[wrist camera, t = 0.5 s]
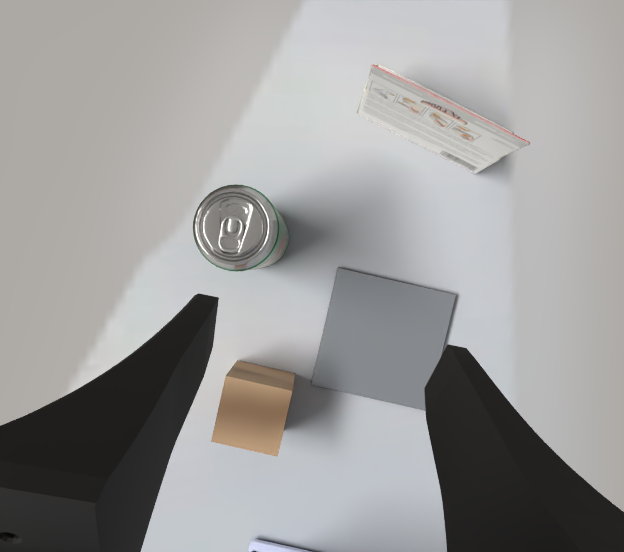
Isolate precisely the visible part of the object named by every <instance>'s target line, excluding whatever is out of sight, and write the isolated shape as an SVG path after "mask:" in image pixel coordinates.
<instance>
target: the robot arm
mask: <svg viewBox="0 0 624 552" xmlns="http://www.w3.org/2000/svg"><path fill="white" fill-rule="evenodd" d="M218 299H219V298H218V297H213V296H208V295H203V294H197V295H195V296H194V297H193V298H192V299H191V300H190V301H189V303H188V304H187V305H186V306H185V307H184V308H183V309H182V310H181V311H180V312H179V313H178V314H177V315H176V316H175V317H174V318H173V319H172V320H171V321H170V322H169V323H167V324H166V325H165V326H164V327H163V328H162V329H161V330H160V331H159V332H158V333H156V334H155V335H154V336H153V337H152V338H151V339H149V340H148V341H147V342H146V343H144V344H143V345H142V346H141V347H139V348H138V349H137V350H136V351H134V352H133V353H132V354H131V355H129V356H128V357H127V358H125V359H124V360H122V361H121V362H120V363H118V364H117V365H115V366H114V367H112V368H111V369H109V370H108V371H106V372H105V373H103V374H102V375H100V376H99V377H97V378H95V379H94V380H92V381H90V382H89V383H87V384H85V385H84V386H82V387H80V388H79V389H77V390H75V391H73V392H72V393H70V394H68V395H66V396H64V397H62V398H60V399H58V400H56V401H54V402H52V403H50V404H48V405H46V406H44V407H42V408H40V409H38V410H36V411H34V412H32V413H30V414H28V415H26V416H23V417H21V418H19V419H16V420H14V421H11V422H9V423H6V424H4V425H1V426H0V552H140V551H141V548H142V545H143V542H144V538H145V535H146V532H147V528H148V525H149V522H150V518H151V515H152V512H153V509H154V506H155V502H156V499H157V496H158V493H159V490H160V486H161V483H162V480H163V477H164V474H165V471H166V468H167V465H168V462H169V459H170V456H171V453H172V450H173V447H174V445H175V442H176V440H177V437H178V435H179V433H180V430H181V428H182V426H183V424H184V421H185V419H186V417H187V414H188V412H189V410H190V407H191V405H192V403H193V400H194V398H195V396H196V393H197V391H198V389H199V386H200V384H201V382H202V379H203V377H204V374H205V371H206V367H207V364H208V361H209V357H210V354H211V351H212V347H213V340H214V332H215V323H216V315H217V307H218ZM424 392H425V409H426V420H427V425H428V430H429V435H430V440H431V445H432V450H433V455H434V460H435V464H436V469H437V474H438V479H439V484H440V489H441V495H442V501H443V510H444V520H445V530H446V541H447V552H624V512H623V511H621V510H620V509H619V508H618V507H616V506H615V505H614V504H612V503H611V502H610V501H609V500H607V499H606V498H605V497H604V496H603V495H601V494H600V493H599V492H598V491H596V490H595V489H594V488H593V487H592V486H591V485H590V484H589V483H587V482H586V481H585V480H584V479H583V478H582V477H581V476H579V475H578V474H577V473H576V472H575V471H574V470H572V468H570V467H569V466H568V465H567V464H566V463H565V462H564V461H563V460H562V459H561V458H560V457H559V456H558V455H557V454H556V453H555V452H554V451H553V450H552V449H551V448H550V447H549V446H548V445H547V444H546V443H545V442H544V441H543V440H542V439H541V438H540V437H539V436H538V435H537V434H536V433H535V432H534V430H533V429H532V428H531V427H530V426H529V425H528V424H527V422H526V421H525V420H524V419H523V418H522V417H521V416H520V414H519V413H518V412H517V411H516V410H515V409H514V407H513V406H512V405H511V404H510V403H509V401H508V400H507V399H506V398H505V396H504V395H503V394H502V393H501V391H500V390H499V389H498V388H497V386H496V385H495V384H494V382H493V381H492V380H491V379H490V377H489V376H488V375H487V373H486V372H485V371H484V370H483V368H482V367H481V366H480V364H479V363H478V362H477V361H476V359H475V358H474V357H473V356H472V354H471V353H470V352H469V351H468V350H467V348H462V347H457V346H453V345H447V347H446V349H445V351H444V352H443V354H442V356H441V358H440V360H439V362H438V364H437V366H436V367H435V369H434V371H433V373H432V375H431V377H430V379H429V380H428V382H427V384H426V386H425V388H424ZM253 550H255V551H257V552H312V551H307V550H303V549H298V548H294V547H289V546H285V545H280V544H276V543H271V542H267V541H263V540H258V539H254V540H252V541H251V543H250V547H249V551H248V552H252V551H253Z"/></svg>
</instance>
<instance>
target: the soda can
mask: <svg viewBox="0 0 624 552" xmlns="http://www.w3.org/2000/svg"><path fill="white" fill-rule="evenodd" d="M193 233H194V238H195V242H196V244H197V247H198V249H199V250H200V252H201V253H202V255H203V256H204V257H205V258H206V259H207V260H208V261H209V262H211V263H212V264H214V265H215V266H217V267H219V268H222V269H225V270H229V271H245V270H251V269H257V268H263V267H267V266H270V265H272V264H274V263H275V262H277V261H278V260H279V259H280V258H281V257H282V256H283V254H284V253H285V251H286V248H287V246H288V240H289V234H288V229H287V226H286V223H285V222H284V220H283V218H282V217H281V216H280V214H279V213H278V212H277V210H276V209H275V207H274V206H273V205H272V203H271V202H270V201H269V200H268V199H267V197H265V196H264V195H263V194H262V193H261V192H259V191H257V190H256V189H253V188H251V187H248V186H244V185H228V186H224V187H221V188H219V189H216V190H215V191H213V192H211V193H210V194H209V195H208V196H207V197H205V198H204V200H203V201H202V202H201V204H200V205H199V207H198V209H197V211H196V214H195V217H194V221H193Z"/></svg>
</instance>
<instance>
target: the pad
mask: <svg viewBox="0 0 624 552" xmlns="http://www.w3.org/2000/svg"><path fill="white" fill-rule="evenodd" d="M455 297H456V295H454V294H450V293H446V292H441V291H437V290H433V289H428V288H424V287H420V286H415V285H411V284H406V283H402V282H398V281H393V280H389V279H385V278H380V277H376V276H372V275H367V274H363V273H358V272H354V271H350V270H345V269H341V268H338V270H337V274H336V278H335V283H334V287H333V291H332V296H331V300H330V304H329V309H328V313H327V317H326V322H325V326H324V330H323V335H322V339H321V343H320V348H319V352H318V356H317V361H316V365H315V369H314V374H313V378H312V382H311V385H315V386H319V387H323V388H328V389H332V390H337V391H341V392H346V393H350V394H354V395H359V396H363V397H368V398H372V399H376V400H381V401H385V402H390V403H394V404H398V405H403V406H407V407H412V408H416V409H420V410H425V411H426V409H425V392H424V388H425V386H426V384H427V382H428V380H429V379H430V377H431V375H432V373H433V371H434V369H435V367H436V366H437V364H438V362H439V360H440V358H441V355H442V350H443V346H444V342H445V338H446V334H447V330H448V326H449V322H450V317H451V313H452V309H453V305H454V301H455Z"/></svg>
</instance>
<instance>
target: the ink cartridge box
mask: <svg viewBox="0 0 624 552" xmlns="http://www.w3.org/2000/svg"><path fill="white" fill-rule="evenodd" d="M357 114H358V115H359V116H361V117H363V118H365V119H367V120H369V121H371V122H373V123H375V124H377V125H379V126H381V127H383V128H385V129H387V130H389V131H391V132H393V133H395V134H397V135H399V136H401V137H403V138H405V139H407V140H409V141H411V142H413V143H415V144H417V145H419V146H421V147H423V148H425V149H427V150H429V151H431V152H433V153H434V154H436V155H438V156H440V157H442V158H444V159H446V160H448V161H450V162H452V163H454V164H456V165H458V166H460V167H462V168H464V169H466V170H468V171H469V172H471V173H473V174H477V173H478V172H480V171H482V170H483V169H485V168H487V167H489V166H490V165H492V164H494V163H495V162H497V161H499V160H500V159H501V158H502V157H503V156H505V155H508V154H510V153H512V152H514V151H516V150H518V149H520V148H522V147H524V146H527V145H529V144H530V142H528V141H526V140H524V139H522V138H520V137H518V136H516V135H514V133H513V132H512V131H510V130H508V129H506V128H504V127H502V126H500V125H498V124H496V123H494V122H492V121H490V120H488V119H486V118H484V117H482V116H480V115H478V114H477V113H475V112H473V111H471V110H469V109H467V108H465V107H463V106H461V105H459V104H457V103H455V102H453V101H451V100H449V99H447V98H445V97H443V96H441V95H439V94H438V93H436V92H434V91H432V90H430V89H428V88H426V87H424V86H422V85H420V84H418V83H416V82H414V81H412V80H410V79H408V78H406V77H404V76H402V75H400V74H398V73H396V72H394V71H392V70H390V69H388V68H387V67H385V66H383V65H381V64H377V65H376V66H375V65H372V67H371V72H370V75H369V80H368V82H367V84H366V86H365V88H364V90H363V93H362V97H361V100H360V103H359V106H358V109H357Z"/></svg>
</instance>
